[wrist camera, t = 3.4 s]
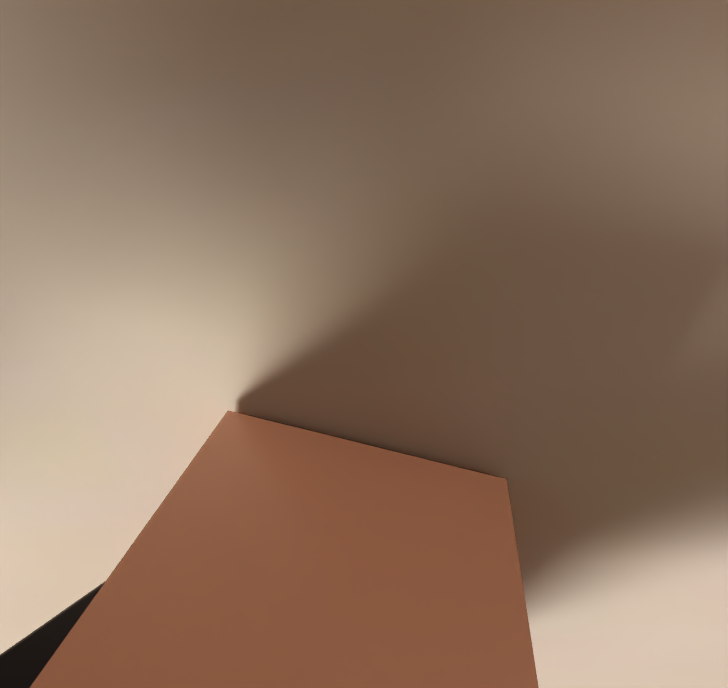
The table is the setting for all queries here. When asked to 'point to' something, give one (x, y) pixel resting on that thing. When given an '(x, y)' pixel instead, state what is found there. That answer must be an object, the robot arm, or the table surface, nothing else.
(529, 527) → the table surface
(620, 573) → the table surface
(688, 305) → the table surface
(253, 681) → the terracotta cube
